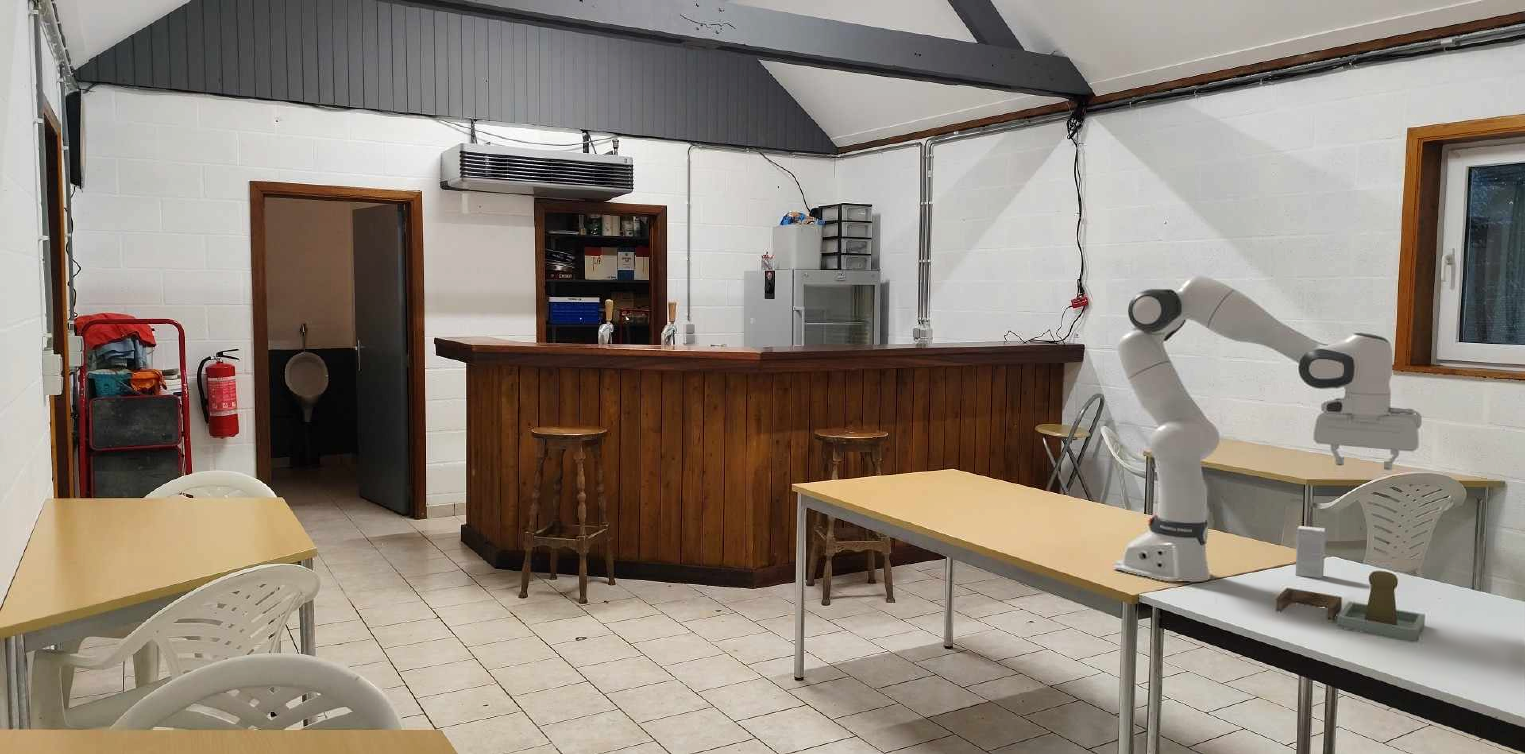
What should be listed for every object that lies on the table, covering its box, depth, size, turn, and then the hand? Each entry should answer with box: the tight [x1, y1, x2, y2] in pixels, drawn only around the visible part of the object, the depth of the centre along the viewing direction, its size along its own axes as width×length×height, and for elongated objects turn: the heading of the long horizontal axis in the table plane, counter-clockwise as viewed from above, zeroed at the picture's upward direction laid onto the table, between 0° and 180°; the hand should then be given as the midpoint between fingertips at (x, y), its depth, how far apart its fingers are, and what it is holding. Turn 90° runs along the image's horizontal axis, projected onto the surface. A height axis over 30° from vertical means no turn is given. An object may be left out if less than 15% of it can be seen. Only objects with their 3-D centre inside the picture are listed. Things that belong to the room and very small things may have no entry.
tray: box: [1336, 601, 1426, 643], centre depth 211 cm, size 14×14×2 cm
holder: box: [1275, 587, 1343, 622], centre depth 222 cm, size 11×10×3 cm
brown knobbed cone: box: [1364, 570, 1399, 626], centre depth 211 cm, size 6×6×11 cm
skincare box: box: [1295, 525, 1326, 580], centre depth 252 cm, size 6×4×12 cm
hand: (1363, 467), depth 226 cm, fingers open, 8 cm apart
